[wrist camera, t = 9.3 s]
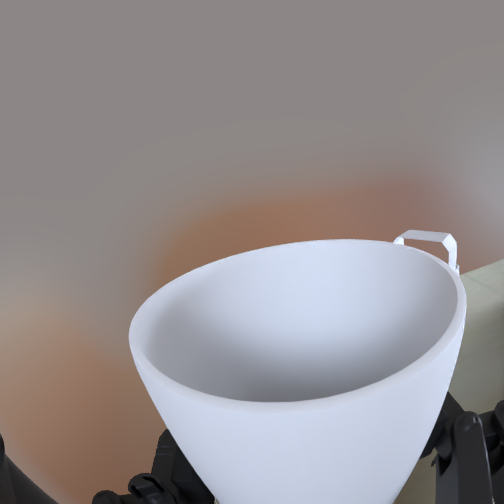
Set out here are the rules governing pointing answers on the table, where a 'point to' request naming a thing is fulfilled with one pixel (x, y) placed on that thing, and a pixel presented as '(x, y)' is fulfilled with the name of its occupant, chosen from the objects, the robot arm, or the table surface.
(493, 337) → the table surface
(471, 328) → the table surface
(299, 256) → the cup
